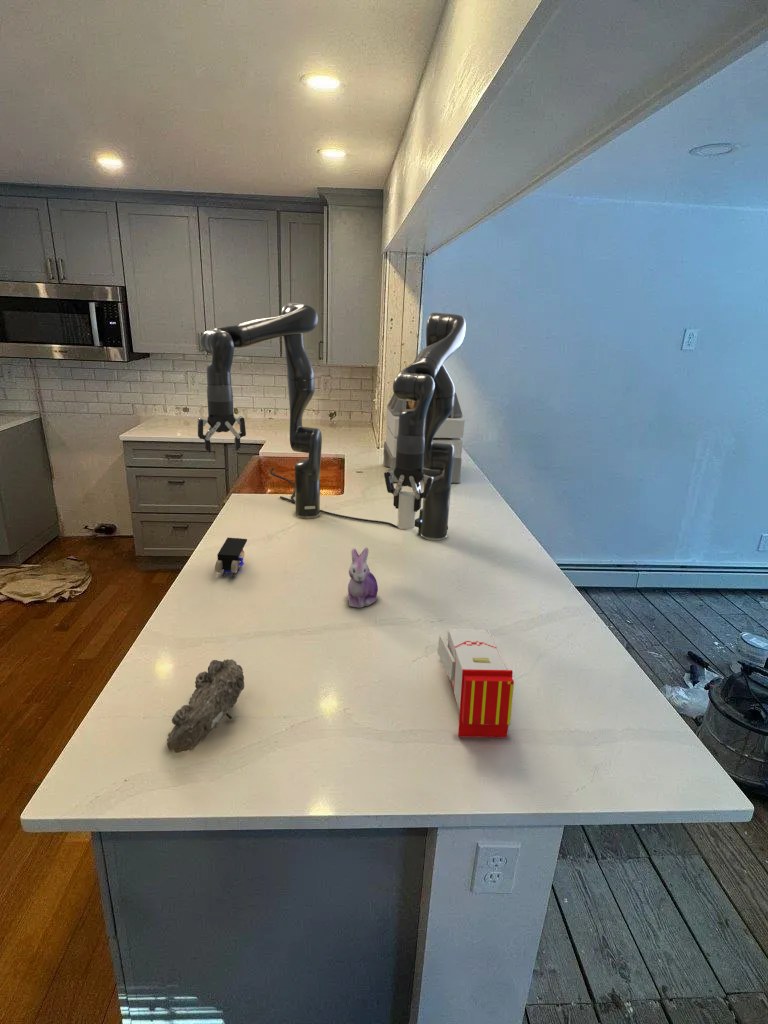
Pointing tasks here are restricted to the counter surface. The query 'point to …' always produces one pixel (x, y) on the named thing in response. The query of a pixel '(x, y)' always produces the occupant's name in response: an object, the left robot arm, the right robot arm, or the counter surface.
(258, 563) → the counter surface
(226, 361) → the left robot arm
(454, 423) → the grey slatted box
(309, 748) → the counter surface
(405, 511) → the canister
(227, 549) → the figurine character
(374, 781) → the counter surface
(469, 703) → the toy
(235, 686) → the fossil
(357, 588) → the figurine
